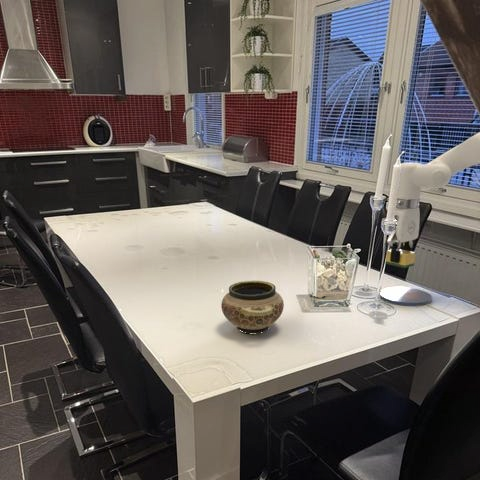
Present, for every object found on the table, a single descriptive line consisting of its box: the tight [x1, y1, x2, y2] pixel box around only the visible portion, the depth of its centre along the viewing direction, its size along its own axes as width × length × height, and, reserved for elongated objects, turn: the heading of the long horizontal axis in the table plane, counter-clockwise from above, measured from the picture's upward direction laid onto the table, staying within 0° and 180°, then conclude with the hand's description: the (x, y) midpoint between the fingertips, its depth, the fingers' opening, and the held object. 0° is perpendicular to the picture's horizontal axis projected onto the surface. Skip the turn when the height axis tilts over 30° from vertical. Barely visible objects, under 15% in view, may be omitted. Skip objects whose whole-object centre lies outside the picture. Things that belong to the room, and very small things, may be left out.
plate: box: [379, 286, 433, 307], centre depth 161 cm, size 17×17×1 cm
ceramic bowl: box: [220, 280, 285, 334], centre depth 135 cm, size 24×18×15 cm
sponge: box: [385, 248, 416, 269], centre depth 152 cm, size 8×5×4 cm, turn 37°
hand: (400, 260), depth 153 cm, fingers closed on sponge, 5 cm apart
